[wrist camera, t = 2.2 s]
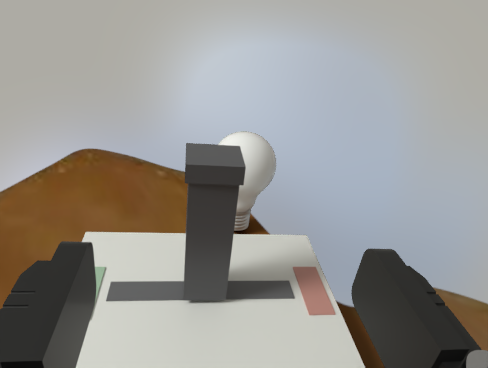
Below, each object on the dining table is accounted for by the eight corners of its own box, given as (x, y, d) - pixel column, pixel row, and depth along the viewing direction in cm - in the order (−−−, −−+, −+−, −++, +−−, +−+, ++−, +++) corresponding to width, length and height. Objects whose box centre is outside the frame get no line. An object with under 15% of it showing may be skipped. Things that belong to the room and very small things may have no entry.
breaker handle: (225, 272, 29) (239, 146, 23) (228, 301, 26) (245, 167, 21) (181, 272, 28) (186, 143, 23) (180, 302, 25) (185, 164, 20)
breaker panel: (300, 259, 36) (306, 234, 35) (354, 400, 24) (367, 371, 23) (89, 258, 33) (85, 231, 32) (30, 420, 21) (20, 388, 20)
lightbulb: (272, 243, 38) (291, 147, 33) (213, 249, 36) (222, 147, 31) (254, 210, 43) (267, 122, 38) (201, 213, 41) (207, 121, 36)
